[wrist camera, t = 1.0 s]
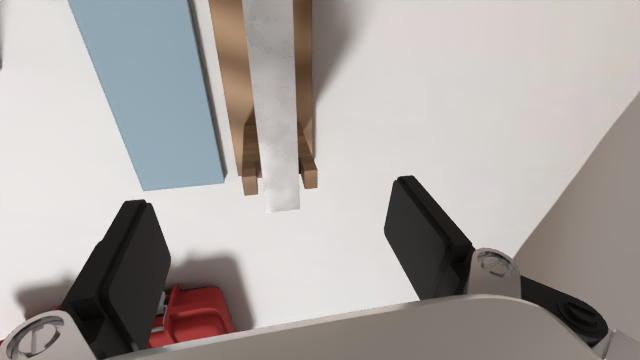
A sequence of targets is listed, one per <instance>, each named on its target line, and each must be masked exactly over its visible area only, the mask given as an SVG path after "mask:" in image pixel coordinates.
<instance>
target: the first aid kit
mask: <svg viewBox="0 0 640 360" xmlns="http://www.w3.org/2000/svg"><path fill="white" fill-rule="evenodd" d="M59 308H60V306H58V307H57V308H56V309H55V310H54V311H56V310H59ZM230 333H236V330H235V328H234V325H233V322H232V319H231V317H230V314H229V311H228V308H227V306H226V303H225V300H224V297H223V295H222V292H221V291H220V289H219V288H216V287H205V288H199V289H194V290H189V291H183V292H182V290H181V288H180V286H179V284H177V285H174V286H173V289H172V292H171V294H167V295H165V291H163V292H162V296H161V299H160V303H159V306H158V310H157V313H156V317H155V321H154V324H153V328H152V331H151V335H150V338H149V342H148V346H147V349H150V348H156V347H161V346H166V345H171V344H176V343H181V342H186V341H191V340H197V339H202V338H208V337H213V336H219V335H225V334H230ZM4 340H5V339H4ZM4 340H1V341H0V346H1V344H2V343H3V341H4Z"/></svg>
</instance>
